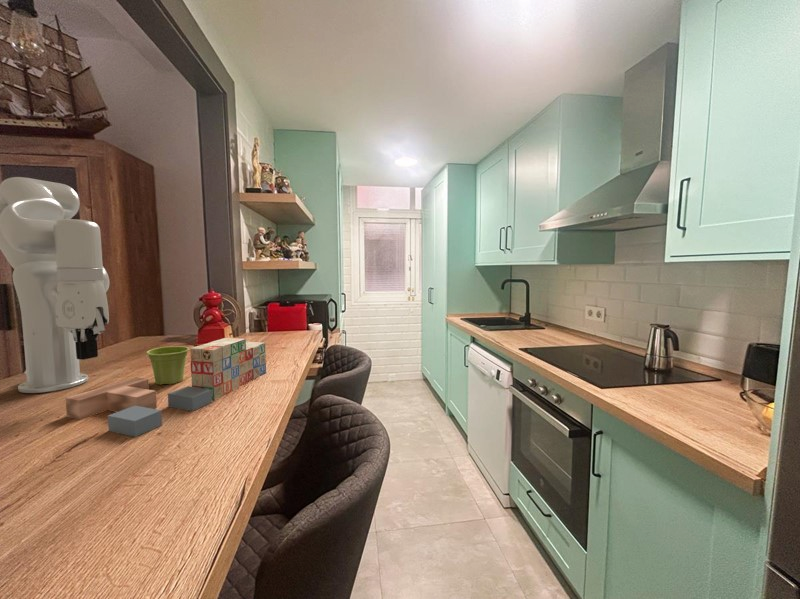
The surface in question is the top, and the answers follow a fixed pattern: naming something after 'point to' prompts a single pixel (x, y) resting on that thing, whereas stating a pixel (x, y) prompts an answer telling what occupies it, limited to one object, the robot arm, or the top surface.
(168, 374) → the plant pot
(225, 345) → the stack of blocks
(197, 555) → the top surface
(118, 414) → the t dock
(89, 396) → the t block
